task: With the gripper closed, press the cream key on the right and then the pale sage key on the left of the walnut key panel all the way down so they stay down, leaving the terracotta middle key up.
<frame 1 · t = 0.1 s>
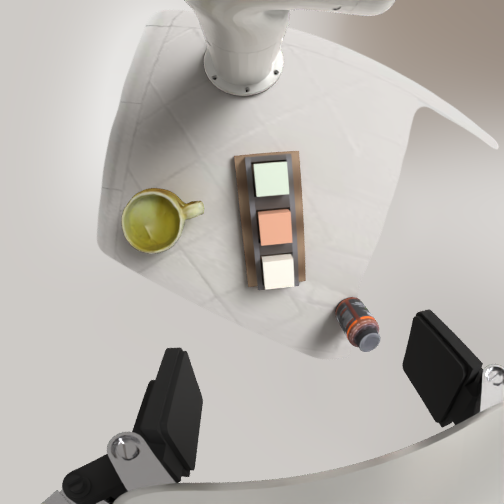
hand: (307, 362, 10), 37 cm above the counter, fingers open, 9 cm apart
supplement bottle: (348, 308, 52), on the counter
key sage: (271, 178, 39), point 5 cm above the counter, slide at 0.0 cm
key panel: (271, 220, 46), on the counter
mug: (172, 211, 45), on the counter
key cream: (278, 271, 44), point 5 cm above the counter, slide at 0.0 cm
key terracotta: (274, 226, 41), point 5 cm above the counter, slide at 0.0 cm
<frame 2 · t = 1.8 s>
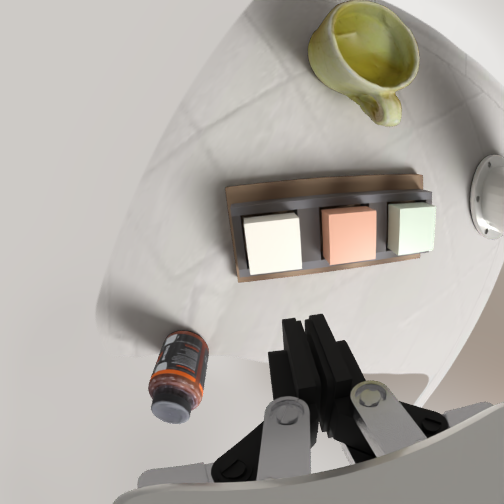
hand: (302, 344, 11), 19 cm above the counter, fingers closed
supplement bottle: (186, 346, 34), on the counter
key sage: (411, 227, 25), point 4 cm above the counter, slide at 0.0 cm
key panel: (334, 223, 29), on the counter
mug: (348, 76, 24), on the counter
key cream: (272, 242, 25), point 4 cm above the counter, slide at 0.0 cm
key terracotta: (349, 234, 25), point 5 cm above the counter, slide at 0.0 cm
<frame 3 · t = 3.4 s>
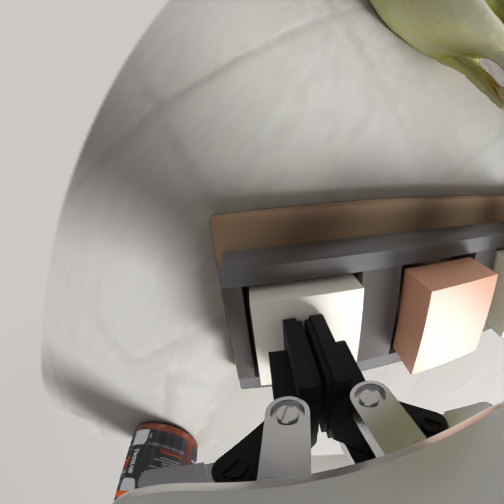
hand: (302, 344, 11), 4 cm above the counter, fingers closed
supplement bottle: (167, 435, 20), on the counter
key panel: (406, 277, 15), on the counter
mug: (426, 29, 10), on the counter
key cream: (304, 327, 12), point 3 cm above the counter, slide at 1.3 cm, touching gripper
key terracotta: (445, 313, 11), point 4 cm above the counter, slide at 0.0 cm
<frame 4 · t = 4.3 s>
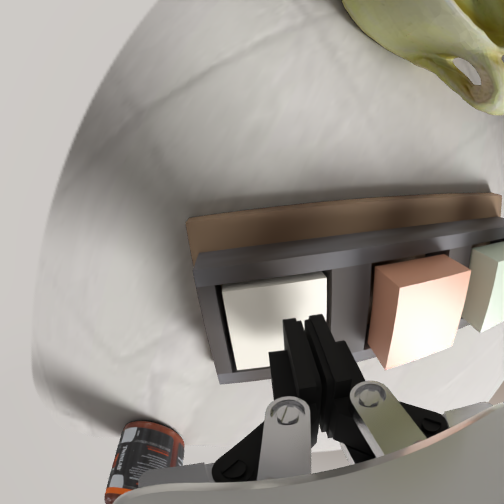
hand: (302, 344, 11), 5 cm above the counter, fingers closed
supplement bottle: (154, 434, 21), on the counter
key sage: (497, 283, 12), point 4 cm above the counter, slide at 0.0 cm
key panel: (381, 275, 16), on the counter
mug: (401, 31, 11), on the counter
key cream: (275, 315, 14), point 2 cm above the counter, slide at 2.1 cm
key terracotta: (419, 310, 12), point 5 cm above the counter, slide at 0.0 cm
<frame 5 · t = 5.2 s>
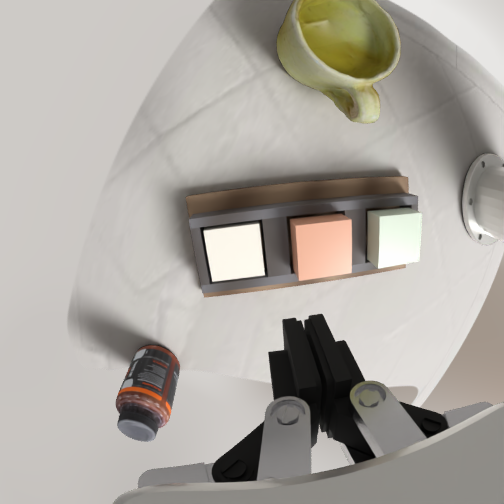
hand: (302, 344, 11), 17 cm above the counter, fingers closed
supplement bottle: (158, 360, 32), on the counter
key sage: (394, 236, 23), point 5 cm above the counter, slide at 0.0 cm
key panel: (308, 232, 27), on the counter
mug: (323, 70, 22), on the counter
key cream: (234, 249, 25), point 2 cm above the counter, slide at 2.1 cm
key terracotta: (321, 246, 23), point 5 cm above the counter, slide at 0.0 cm
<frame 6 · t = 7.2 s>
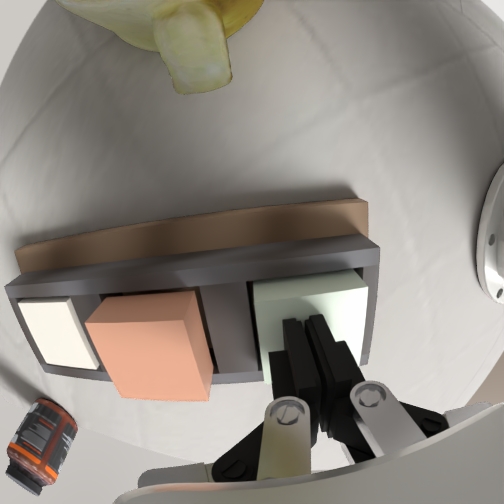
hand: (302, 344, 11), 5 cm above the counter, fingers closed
supplement bottle: (58, 413, 21), on the counter
key sage: (308, 326, 12), point 4 cm above the counter, slide at 0.9 cm, touching gripper
key panel: (174, 302, 16), on the counter
mug: (195, 20, 11), on the counter
key cream: (63, 326, 14), point 2 cm above the counter, slide at 2.1 cm
key terracotta: (153, 349, 12), point 4 cm above the counter, slide at 0.0 cm
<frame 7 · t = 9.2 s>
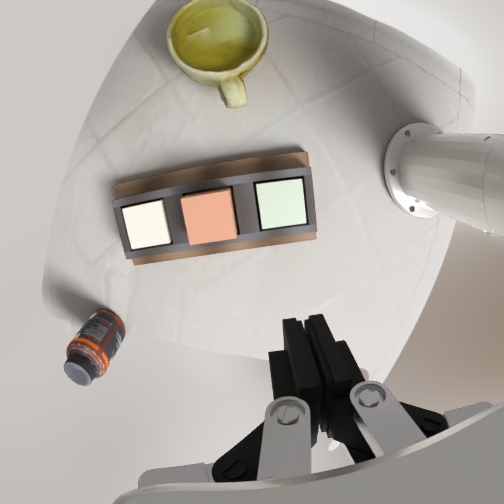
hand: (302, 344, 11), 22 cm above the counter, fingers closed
supplement bottle: (109, 324, 36), on the counter
key sage: (280, 202, 29), point 2 cm above the counter, slide at 2.0 cm
key panel: (214, 208, 31), on the counter
mug: (223, 68, 26), on the counter
key cream: (148, 223, 29), point 2 cm above the counter, slide at 2.1 cm
key terracotta: (210, 216, 27), point 4 cm above the counter, slide at 0.0 cm
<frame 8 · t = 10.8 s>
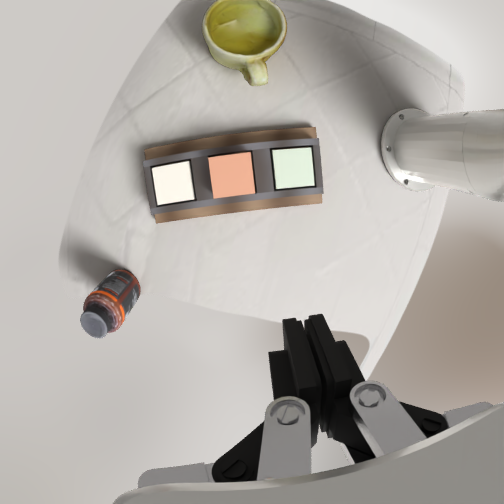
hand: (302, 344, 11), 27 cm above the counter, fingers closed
supplement bottle: (124, 285, 40), on the counter
key sage: (292, 167, 33), point 2 cm above the counter, slide at 2.0 cm
key panel: (233, 172, 35), on the counter
mug: (245, 55, 30), on the counter
key cream: (174, 182, 33), point 2 cm above the counter, slide at 2.1 cm
key terracotta: (232, 174, 31), point 4 cm above the counter, slide at 0.0 cm
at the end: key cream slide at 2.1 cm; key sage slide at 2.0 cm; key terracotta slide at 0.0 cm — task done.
